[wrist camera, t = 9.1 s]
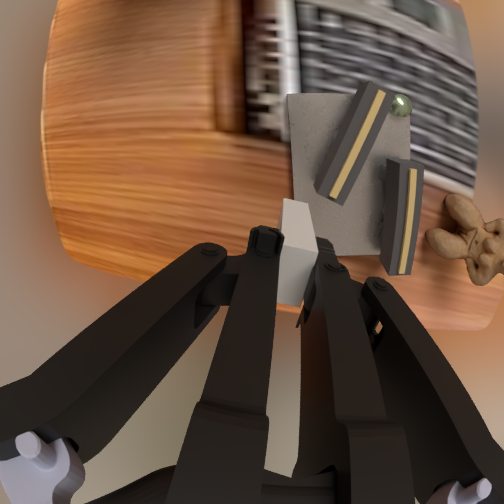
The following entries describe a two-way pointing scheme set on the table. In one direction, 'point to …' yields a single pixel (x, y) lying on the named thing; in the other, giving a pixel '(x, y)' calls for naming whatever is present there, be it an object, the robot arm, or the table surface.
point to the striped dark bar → (353, 142)
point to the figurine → (471, 240)
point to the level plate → (368, 182)
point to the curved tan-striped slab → (401, 215)
